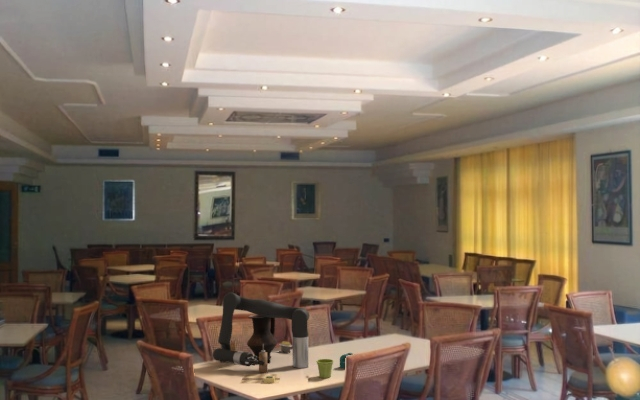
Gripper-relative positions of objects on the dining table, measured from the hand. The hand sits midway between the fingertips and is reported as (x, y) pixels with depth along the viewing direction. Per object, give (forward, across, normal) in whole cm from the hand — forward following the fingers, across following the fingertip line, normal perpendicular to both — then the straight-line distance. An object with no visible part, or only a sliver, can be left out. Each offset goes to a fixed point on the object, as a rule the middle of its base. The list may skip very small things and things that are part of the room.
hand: (267, 362), depth 352 cm
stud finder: (+12, -13, +6) cm, 18 cm away
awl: (-3, 0, +7) cm, 7 cm away
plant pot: (+28, +15, +7) cm, 33 cm away
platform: (-26, +53, +8) cm, 60 cm away
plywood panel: (+5, -11, +7) cm, 14 cm away
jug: (-27, +30, +7) cm, 41 cm away
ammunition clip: (-41, +14, +7) cm, 44 cm away
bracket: (+33, +40, +8) cm, 52 cm away
